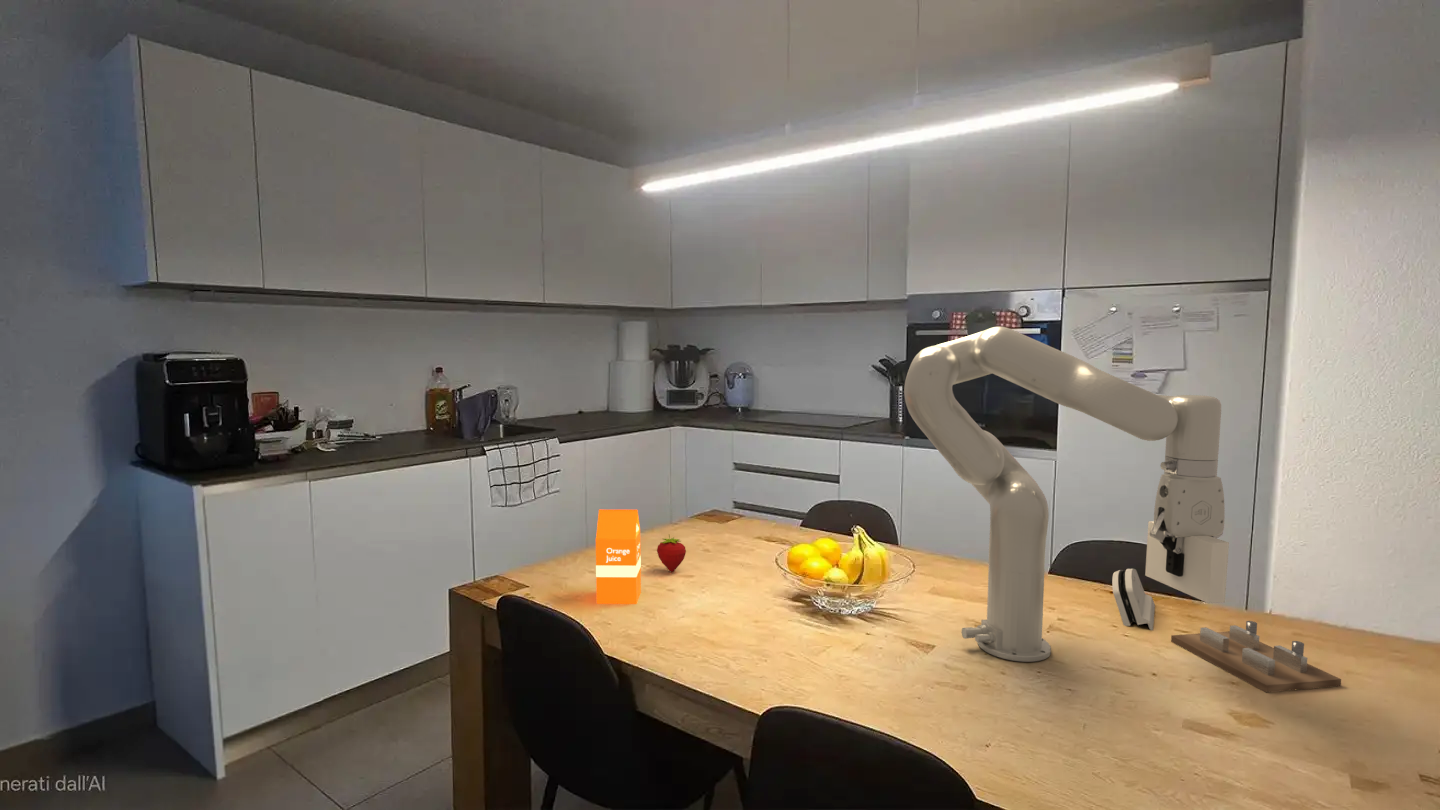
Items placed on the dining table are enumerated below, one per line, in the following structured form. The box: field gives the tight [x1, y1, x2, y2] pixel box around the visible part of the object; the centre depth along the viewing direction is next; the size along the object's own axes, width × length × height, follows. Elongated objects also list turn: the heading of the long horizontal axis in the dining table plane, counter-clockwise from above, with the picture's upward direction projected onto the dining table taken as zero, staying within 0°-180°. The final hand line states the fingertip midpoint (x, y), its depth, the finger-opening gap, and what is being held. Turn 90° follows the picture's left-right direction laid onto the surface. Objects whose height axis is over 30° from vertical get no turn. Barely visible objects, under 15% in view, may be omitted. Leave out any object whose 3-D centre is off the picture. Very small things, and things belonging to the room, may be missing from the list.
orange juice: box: [595, 509, 642, 605], centre depth 159 cm, size 8×9×20 cm
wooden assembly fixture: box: [1170, 620, 1342, 693], centre depth 126 cm, size 14×20×5 cm
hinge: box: [1111, 568, 1156, 631], centre depth 149 cm, size 17×5×10 cm, turn 148°
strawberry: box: [656, 535, 687, 573], centre depth 177 cm, size 6×8×10 cm
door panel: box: [1144, 520, 1230, 604], centre depth 123 cm, size 3×14×10 cm, turn 9°
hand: (1183, 572), depth 123 cm, fingers closed on door panel, 3 cm apart
